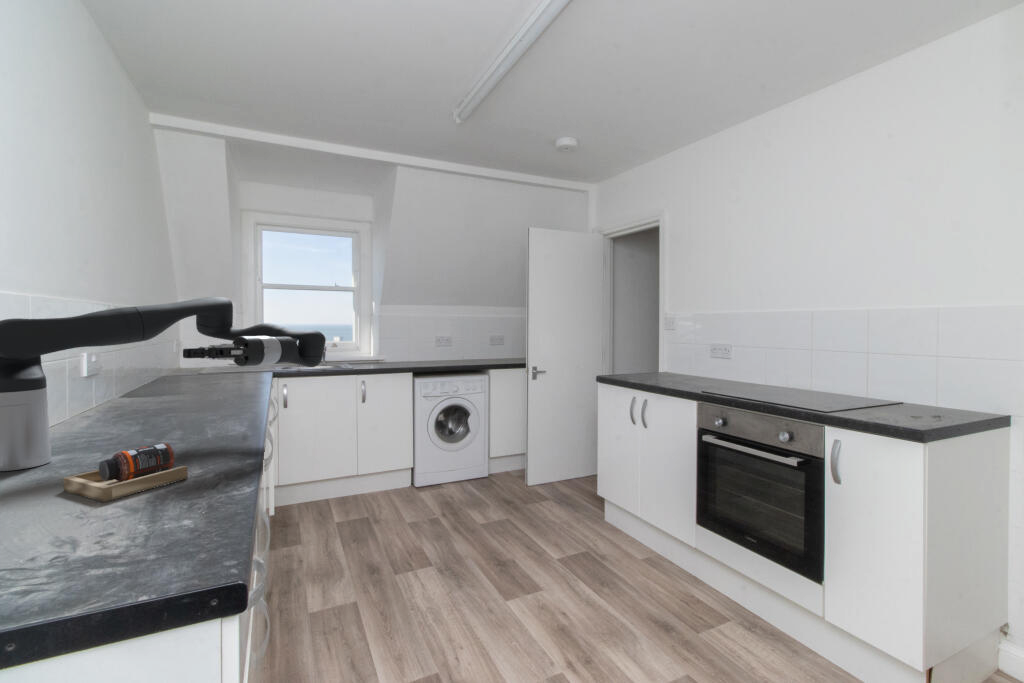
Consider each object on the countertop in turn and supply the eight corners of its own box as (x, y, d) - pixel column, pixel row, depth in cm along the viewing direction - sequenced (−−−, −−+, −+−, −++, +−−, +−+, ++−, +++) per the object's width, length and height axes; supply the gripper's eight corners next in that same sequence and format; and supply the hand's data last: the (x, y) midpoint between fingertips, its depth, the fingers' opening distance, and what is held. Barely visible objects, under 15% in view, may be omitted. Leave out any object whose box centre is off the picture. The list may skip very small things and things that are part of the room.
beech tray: (63, 490, 93) (63, 477, 93) (146, 470, 105) (146, 458, 105) (104, 502, 86) (103, 488, 86) (187, 478, 98) (187, 466, 98)
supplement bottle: (168, 436, 103) (102, 449, 93) (179, 459, 101) (114, 475, 91) (157, 452, 105) (92, 466, 95) (168, 475, 103) (103, 492, 93)
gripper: (240, 336, 128) (168, 336, 113) (273, 335, 122) (201, 336, 107) (241, 364, 128) (168, 369, 113) (273, 366, 122) (202, 371, 107)
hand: (184, 353), depth 110 cm, fingers closed
